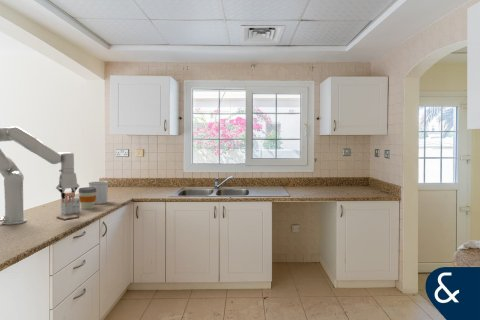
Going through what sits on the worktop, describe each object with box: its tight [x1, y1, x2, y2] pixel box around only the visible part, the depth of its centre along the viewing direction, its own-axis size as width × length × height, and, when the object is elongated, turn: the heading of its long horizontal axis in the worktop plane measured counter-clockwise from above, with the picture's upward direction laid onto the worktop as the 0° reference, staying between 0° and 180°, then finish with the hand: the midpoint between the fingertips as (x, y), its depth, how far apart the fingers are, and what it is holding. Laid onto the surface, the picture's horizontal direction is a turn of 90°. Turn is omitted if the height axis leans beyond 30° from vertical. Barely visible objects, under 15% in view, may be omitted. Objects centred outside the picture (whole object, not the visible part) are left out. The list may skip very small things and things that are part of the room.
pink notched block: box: [62, 191, 75, 204], centre depth 220 cm, size 6×6×7 cm
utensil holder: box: [88, 180, 109, 205], centre depth 277 cm, size 15×15×18 cm
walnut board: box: [56, 213, 80, 221], centre depth 221 cm, size 10×10×1 cm
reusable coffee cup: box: [78, 186, 96, 210], centre depth 256 cm, size 12×13×15 cm
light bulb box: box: [60, 196, 81, 215], centre depth 236 cm, size 11×7×11 cm, turn 141°
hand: (68, 197), depth 220 cm, fingers closed on pink notched block, 5 cm apart
